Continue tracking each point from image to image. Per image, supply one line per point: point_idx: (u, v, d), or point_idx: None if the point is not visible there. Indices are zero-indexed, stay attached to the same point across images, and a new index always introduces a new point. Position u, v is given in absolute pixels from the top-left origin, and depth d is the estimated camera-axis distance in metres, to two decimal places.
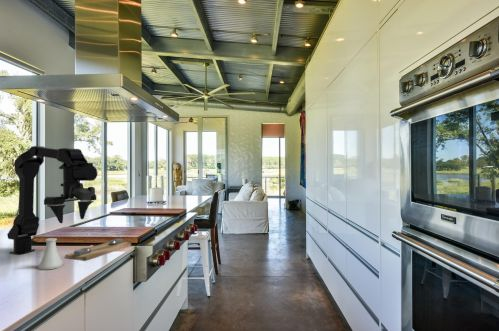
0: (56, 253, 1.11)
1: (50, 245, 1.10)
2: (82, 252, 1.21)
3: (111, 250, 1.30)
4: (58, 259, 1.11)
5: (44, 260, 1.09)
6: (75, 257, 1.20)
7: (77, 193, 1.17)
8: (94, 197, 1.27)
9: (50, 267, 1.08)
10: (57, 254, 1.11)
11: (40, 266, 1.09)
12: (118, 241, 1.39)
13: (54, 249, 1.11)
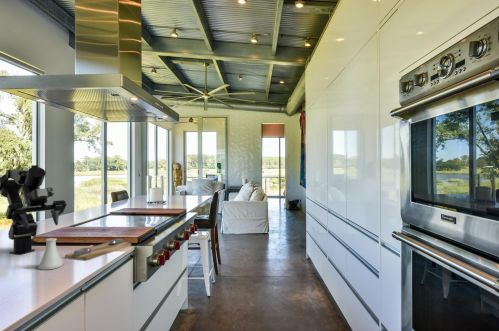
0: (56, 253, 1.11)
1: (50, 245, 1.10)
2: (82, 252, 1.21)
3: (111, 250, 1.30)
4: (58, 259, 1.11)
5: (44, 260, 1.09)
6: (75, 257, 1.20)
7: (32, 194, 1.16)
8: (62, 201, 1.24)
9: (50, 267, 1.08)
10: (57, 254, 1.11)
11: (40, 266, 1.09)
12: (118, 241, 1.39)
13: (54, 249, 1.11)
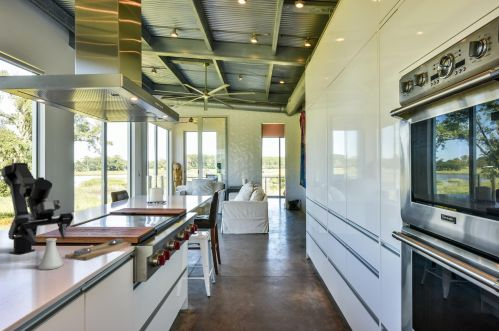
0: (56, 253, 1.11)
1: (50, 245, 1.10)
2: (82, 252, 1.21)
3: (111, 250, 1.30)
4: (58, 259, 1.11)
5: (44, 260, 1.09)
6: (75, 257, 1.20)
7: (38, 207, 1.12)
8: (69, 214, 1.20)
9: (50, 267, 1.08)
10: (57, 254, 1.11)
11: (40, 266, 1.09)
12: (118, 241, 1.39)
13: (54, 249, 1.11)
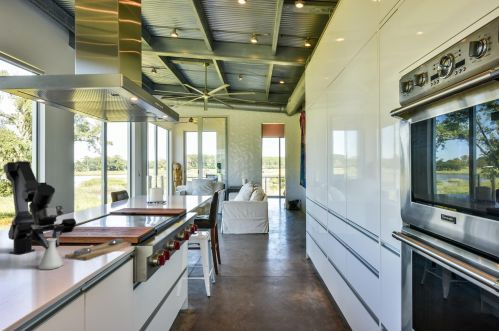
0: (56, 252, 1.11)
1: (50, 245, 1.10)
2: (82, 252, 1.21)
3: (111, 250, 1.30)
4: (58, 259, 1.11)
5: (44, 260, 1.09)
6: (75, 257, 1.20)
7: (41, 213, 1.11)
8: (71, 220, 1.19)
9: (50, 267, 1.08)
10: (57, 254, 1.11)
11: (40, 266, 1.09)
12: (118, 241, 1.39)
13: (54, 249, 1.11)
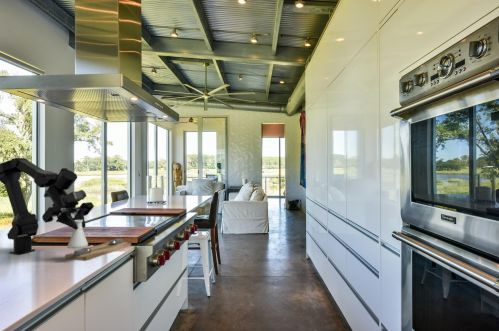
0: (83, 233, 1.20)
1: (78, 225, 1.18)
2: (82, 252, 1.21)
3: (111, 250, 1.30)
4: (85, 239, 1.20)
5: (73, 239, 1.17)
6: (75, 257, 1.20)
7: (68, 197, 1.18)
8: (90, 203, 1.28)
9: (81, 245, 1.17)
10: None
11: (69, 245, 1.16)
12: (118, 241, 1.39)
13: (82, 229, 1.19)
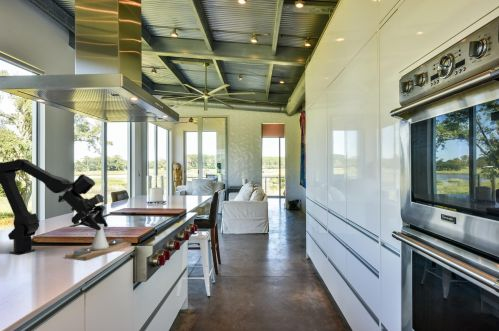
0: (104, 236, 1.33)
1: (101, 229, 1.31)
2: (82, 252, 1.21)
3: (111, 250, 1.30)
4: (106, 241, 1.33)
5: (98, 242, 1.29)
6: (75, 257, 1.20)
7: (92, 200, 1.29)
8: (102, 206, 1.39)
9: (105, 247, 1.30)
10: None
11: (95, 248, 1.28)
12: (118, 241, 1.39)
13: (103, 233, 1.32)
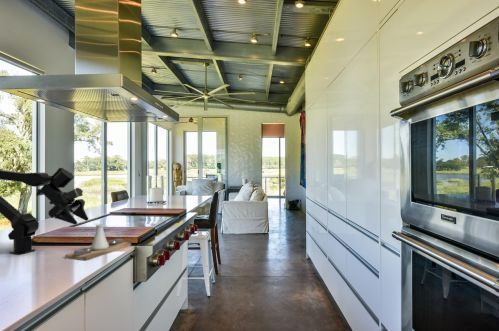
0: (104, 236, 1.33)
1: (101, 229, 1.31)
2: (82, 252, 1.21)
3: (111, 250, 1.30)
4: (106, 241, 1.33)
5: (98, 242, 1.29)
6: (75, 257, 1.20)
7: (70, 194, 1.29)
8: (82, 200, 1.39)
9: (105, 247, 1.30)
10: None
11: (95, 248, 1.28)
12: (118, 241, 1.39)
13: (103, 233, 1.32)
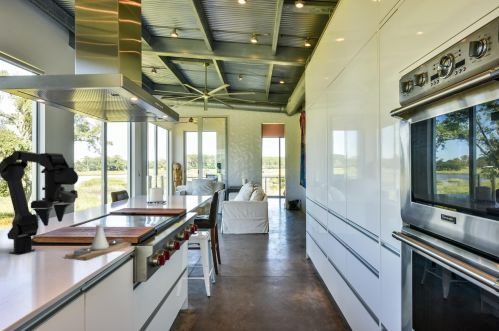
0: (104, 236, 1.33)
1: (101, 229, 1.31)
2: (82, 252, 1.21)
3: (111, 250, 1.30)
4: (106, 241, 1.33)
5: (98, 242, 1.29)
6: (75, 257, 1.20)
7: (64, 196, 1.22)
8: None
9: (105, 247, 1.30)
10: None
11: (95, 248, 1.28)
12: (118, 241, 1.39)
13: (103, 233, 1.32)
